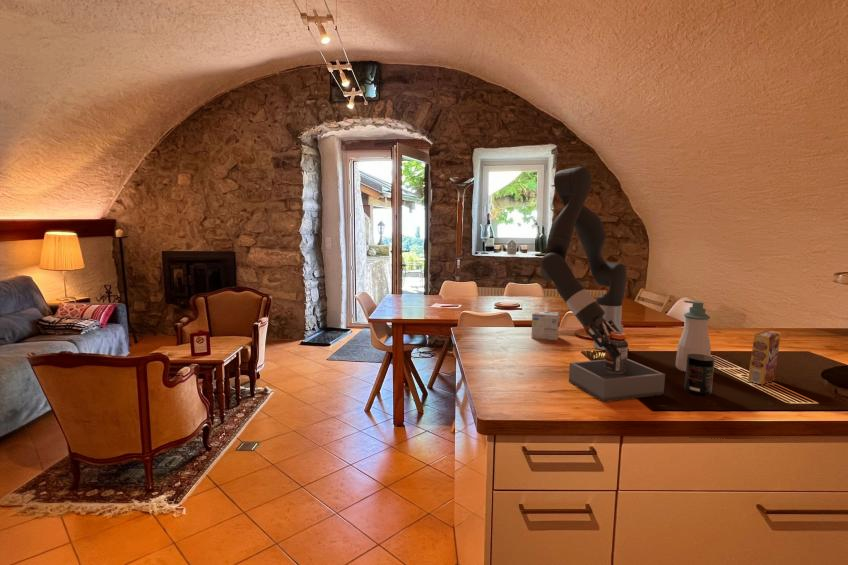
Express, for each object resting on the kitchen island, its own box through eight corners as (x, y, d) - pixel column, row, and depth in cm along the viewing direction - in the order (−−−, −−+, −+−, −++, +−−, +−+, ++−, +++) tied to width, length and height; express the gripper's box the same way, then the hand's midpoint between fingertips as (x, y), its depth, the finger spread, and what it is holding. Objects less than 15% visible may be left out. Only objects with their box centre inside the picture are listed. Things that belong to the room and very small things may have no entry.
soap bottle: (680, 363, 154) (685, 298, 151) (713, 370, 147) (719, 302, 144) (671, 370, 147) (676, 302, 144) (705, 377, 140) (711, 306, 137)
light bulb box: (558, 336, 190) (559, 312, 188) (557, 340, 183) (558, 315, 182) (532, 334, 193) (533, 310, 192) (531, 338, 187) (531, 313, 185)
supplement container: (712, 391, 128) (716, 356, 127) (709, 398, 123) (713, 362, 122) (686, 386, 133) (689, 352, 131) (681, 392, 127) (684, 357, 126)
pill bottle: (600, 367, 133) (602, 330, 131) (619, 367, 133) (622, 330, 132) (610, 374, 127) (613, 335, 125) (630, 373, 127) (633, 335, 126)
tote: (623, 375, 141) (625, 357, 140) (663, 394, 126) (665, 374, 125) (568, 381, 136) (569, 362, 135) (603, 401, 121) (604, 380, 120)
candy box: (763, 386, 133) (769, 336, 131) (747, 382, 137) (752, 333, 134) (775, 380, 138) (781, 332, 136) (759, 376, 141) (764, 329, 139)
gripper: (583, 303, 128) (623, 352, 121) (604, 297, 138) (641, 342, 131) (565, 318, 132) (602, 366, 125) (586, 312, 142) (621, 356, 136)
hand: (622, 354), depth 128 cm, fingers closed on pill bottle, 6 cm apart
